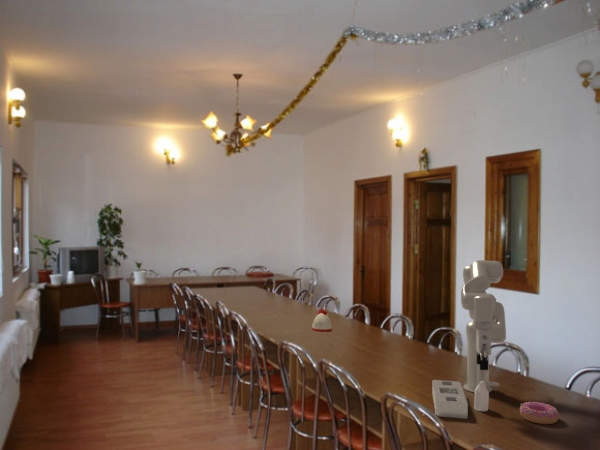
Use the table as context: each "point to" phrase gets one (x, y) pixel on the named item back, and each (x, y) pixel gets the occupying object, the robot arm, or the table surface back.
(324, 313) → the cream hat
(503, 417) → the table surface
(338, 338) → the table surface
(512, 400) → the table surface
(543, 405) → the donut
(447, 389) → the white block holder
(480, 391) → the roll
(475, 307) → the robot arm
